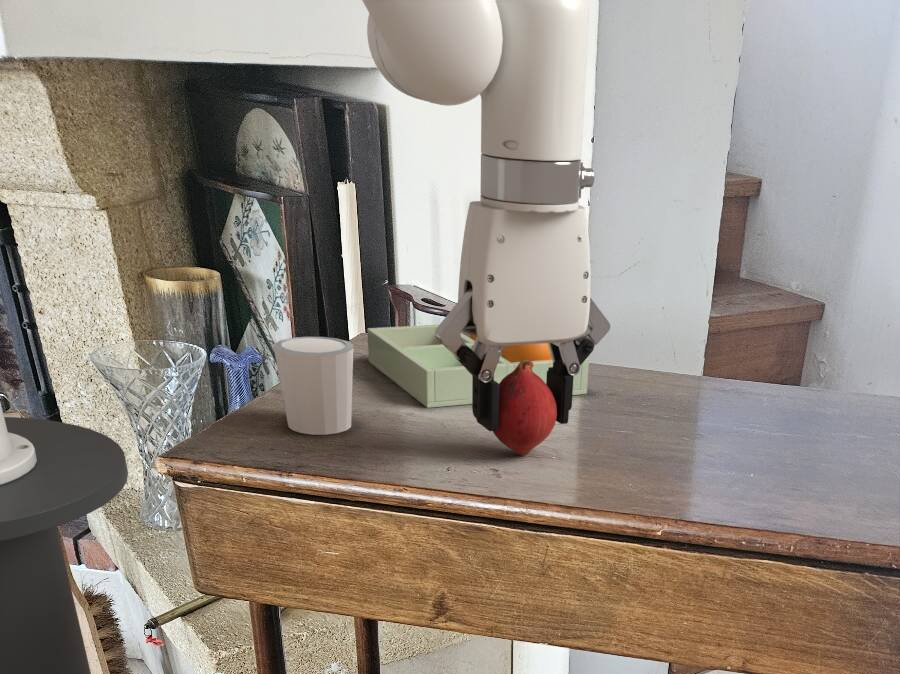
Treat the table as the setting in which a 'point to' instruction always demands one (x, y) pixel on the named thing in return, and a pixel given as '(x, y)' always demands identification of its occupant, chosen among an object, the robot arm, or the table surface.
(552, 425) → the onion
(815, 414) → the table surface
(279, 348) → the white cup
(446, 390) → the tray
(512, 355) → the clementine
